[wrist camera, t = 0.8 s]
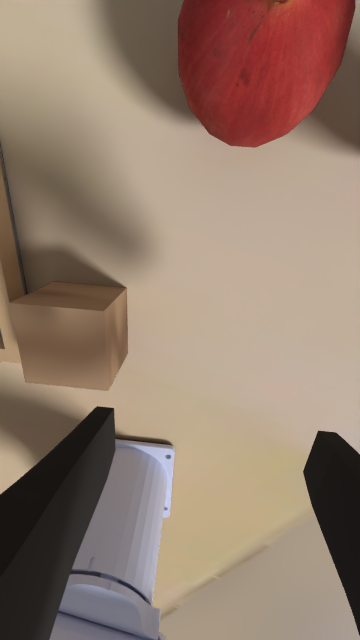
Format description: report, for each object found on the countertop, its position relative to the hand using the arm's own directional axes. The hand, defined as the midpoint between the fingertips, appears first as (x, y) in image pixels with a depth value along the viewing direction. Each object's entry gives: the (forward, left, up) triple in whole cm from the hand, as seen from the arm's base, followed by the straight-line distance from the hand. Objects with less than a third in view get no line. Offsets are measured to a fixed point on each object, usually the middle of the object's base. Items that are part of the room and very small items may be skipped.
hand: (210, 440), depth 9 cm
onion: (+13, 0, -10) cm, 16 cm away
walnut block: (0, +8, -10) cm, 12 cm away
